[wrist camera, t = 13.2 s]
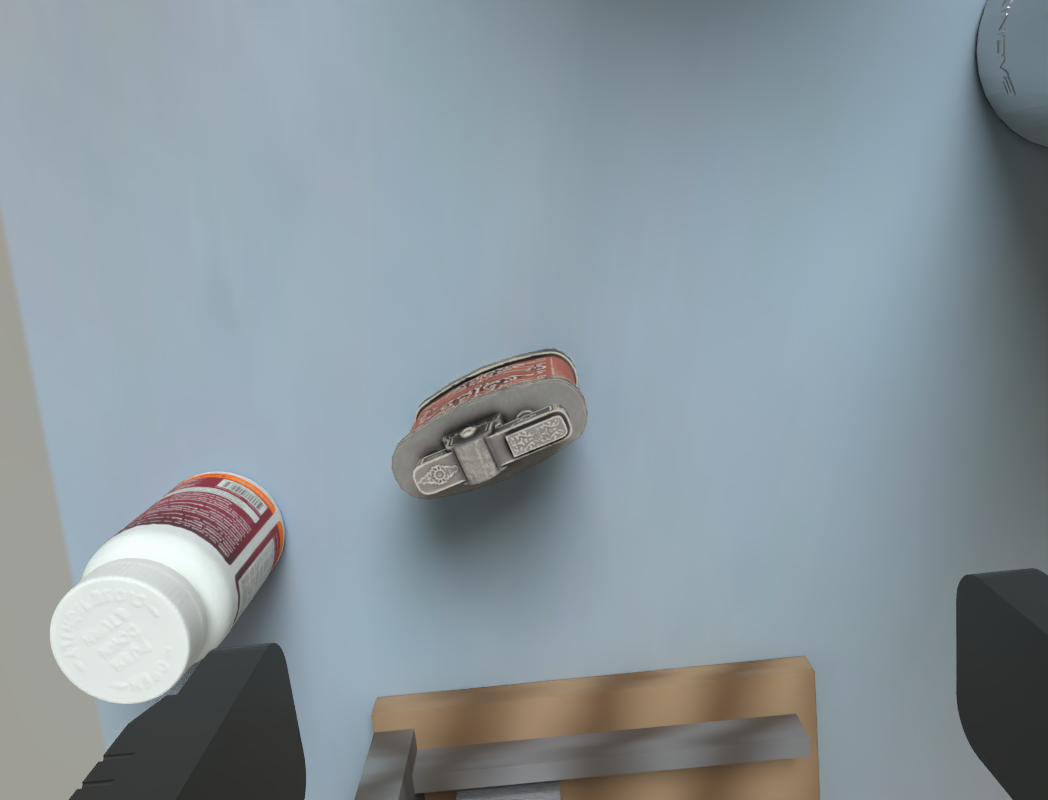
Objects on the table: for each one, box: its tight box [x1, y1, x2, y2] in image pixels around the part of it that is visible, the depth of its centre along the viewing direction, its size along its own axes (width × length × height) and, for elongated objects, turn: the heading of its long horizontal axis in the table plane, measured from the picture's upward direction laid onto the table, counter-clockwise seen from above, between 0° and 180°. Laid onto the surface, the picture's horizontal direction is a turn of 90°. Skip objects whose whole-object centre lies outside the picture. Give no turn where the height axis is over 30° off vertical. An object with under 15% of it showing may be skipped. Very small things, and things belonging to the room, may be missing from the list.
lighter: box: [392, 349, 588, 499], centre depth 35 cm, size 8×3×10 cm, turn 113°
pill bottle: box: [50, 471, 285, 704], centre depth 36 cm, size 6×6×11 cm
